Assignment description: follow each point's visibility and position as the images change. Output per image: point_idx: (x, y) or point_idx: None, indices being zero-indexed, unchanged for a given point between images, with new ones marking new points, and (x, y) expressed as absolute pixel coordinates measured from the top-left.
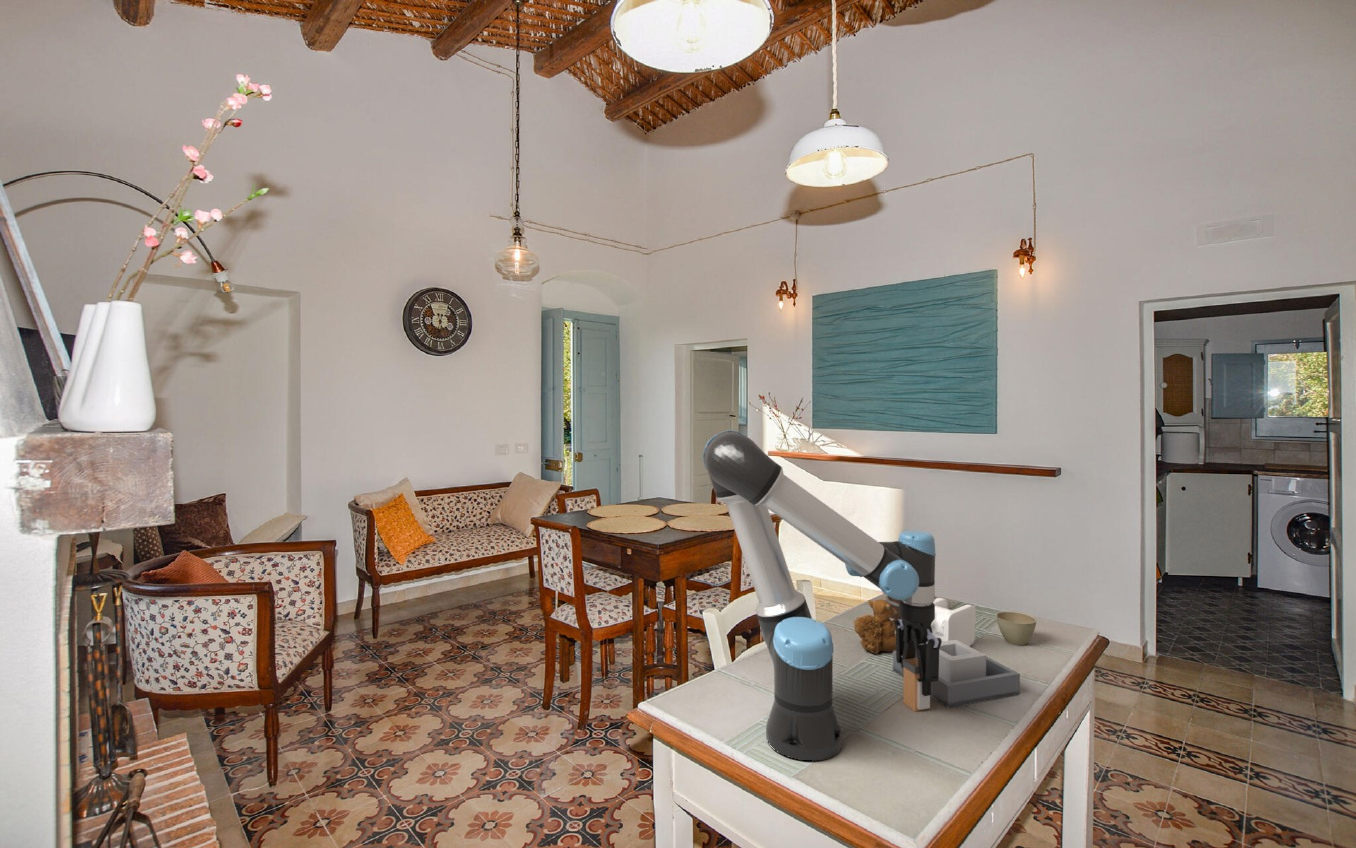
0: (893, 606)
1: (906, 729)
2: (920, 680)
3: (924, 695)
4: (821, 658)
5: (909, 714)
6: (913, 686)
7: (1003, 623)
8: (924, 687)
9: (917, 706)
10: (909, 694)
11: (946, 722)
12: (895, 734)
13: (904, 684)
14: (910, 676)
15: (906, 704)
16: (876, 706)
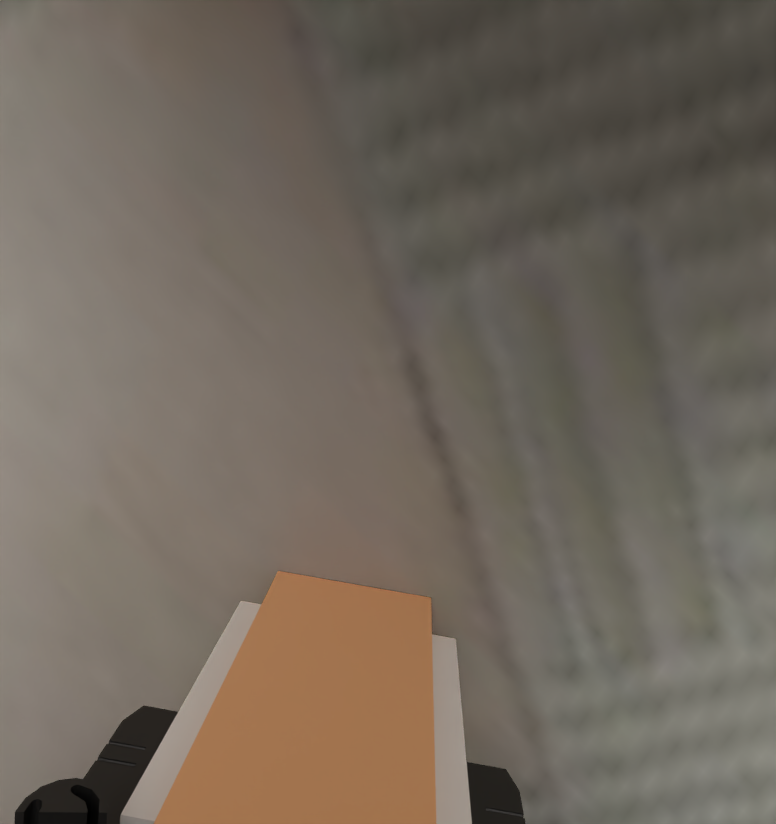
0: None
1: (75, 284)
2: (23, 805)
3: (148, 712)
4: None
5: (259, 496)
6: (235, 716)
7: None
8: (103, 781)
9: None
10: (332, 649)
11: (48, 648)
12: (42, 127)
13: (411, 710)
14: (267, 812)
15: (387, 593)
16: (501, 341)
